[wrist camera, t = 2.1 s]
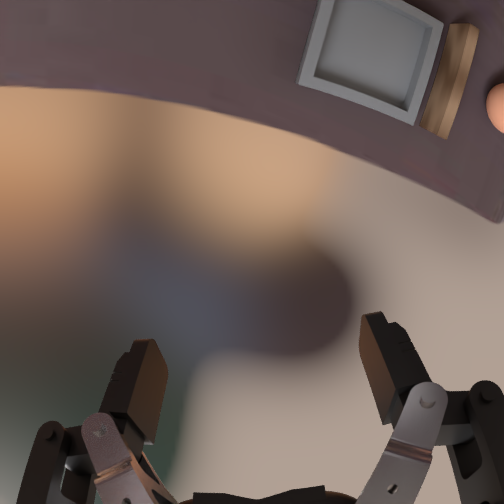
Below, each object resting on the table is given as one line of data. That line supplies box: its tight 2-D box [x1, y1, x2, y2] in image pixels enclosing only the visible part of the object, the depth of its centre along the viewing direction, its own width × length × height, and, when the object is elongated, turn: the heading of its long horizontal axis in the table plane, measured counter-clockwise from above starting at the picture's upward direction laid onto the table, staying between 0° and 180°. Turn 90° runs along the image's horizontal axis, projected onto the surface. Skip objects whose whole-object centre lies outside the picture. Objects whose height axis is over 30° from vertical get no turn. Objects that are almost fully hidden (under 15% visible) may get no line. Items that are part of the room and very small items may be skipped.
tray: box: [295, 0, 444, 126], centre depth 20 cm, size 11×11×2 cm
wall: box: [419, 23, 479, 140], centre depth 20 cm, size 12×1×4 cm, turn 167°
